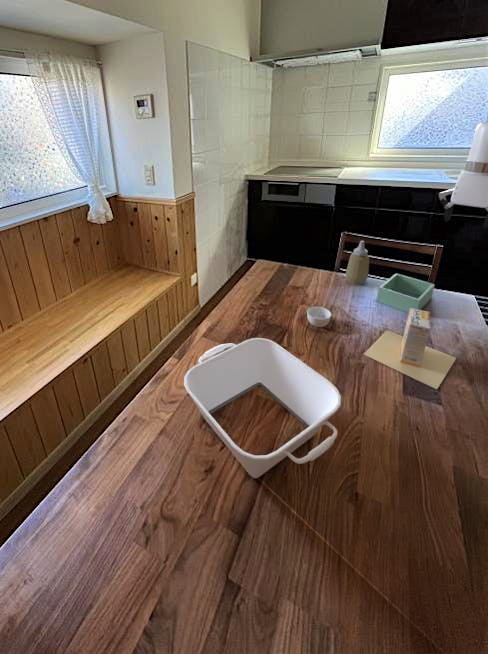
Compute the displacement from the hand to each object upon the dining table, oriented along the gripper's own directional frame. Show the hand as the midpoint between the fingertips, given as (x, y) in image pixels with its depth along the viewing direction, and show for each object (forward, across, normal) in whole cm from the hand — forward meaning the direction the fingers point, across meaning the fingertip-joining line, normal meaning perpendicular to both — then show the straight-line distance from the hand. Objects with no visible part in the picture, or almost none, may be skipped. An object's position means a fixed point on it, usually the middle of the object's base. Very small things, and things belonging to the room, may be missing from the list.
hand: (465, 223), depth 104 cm
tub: (+30, +14, +84) cm, 90 cm away
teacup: (+30, +24, +39) cm, 55 cm away
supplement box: (+29, -2, +36) cm, 46 cm away
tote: (+30, +10, +6) cm, 32 cm away
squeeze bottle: (+30, +28, +4) cm, 42 cm away
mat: (+30, -2, +36) cm, 47 cm away
